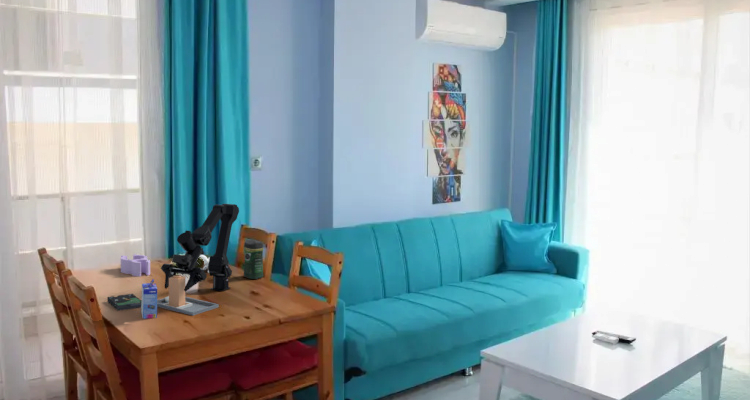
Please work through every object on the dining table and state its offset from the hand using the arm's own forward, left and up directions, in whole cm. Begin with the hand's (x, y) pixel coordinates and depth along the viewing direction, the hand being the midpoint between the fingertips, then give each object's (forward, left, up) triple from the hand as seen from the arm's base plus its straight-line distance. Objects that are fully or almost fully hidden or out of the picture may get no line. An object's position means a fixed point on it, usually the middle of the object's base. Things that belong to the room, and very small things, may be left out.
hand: (175, 289), depth 259 cm
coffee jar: (-10, +59, -8) cm, 61 cm away
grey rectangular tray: (+2, +3, -8) cm, 9 cm away
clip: (-62, +32, -8) cm, 71 cm away
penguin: (-36, +56, -8) cm, 67 cm away
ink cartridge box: (0, -13, -8) cm, 15 cm away
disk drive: (-21, -7, -9) cm, 24 cm away
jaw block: (0, +1, -7) cm, 7 cm away
